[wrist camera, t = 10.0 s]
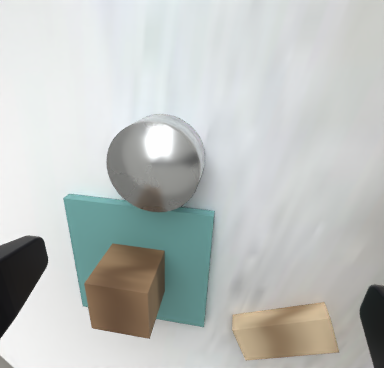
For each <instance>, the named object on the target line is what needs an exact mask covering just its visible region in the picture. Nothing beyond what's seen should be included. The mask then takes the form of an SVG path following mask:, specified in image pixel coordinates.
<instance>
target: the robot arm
mask: <svg viewBox="0 0 384 368" xmlns="http://www.w3.org/2000/svg"><path fill="white" fill-rule="evenodd" d="M47 264H48V256H47V252H46V247H45V243H44V240H43V239H42V238H41V237H37V236H24V237H22V238H19V239H16V240H14V241H11V242H8V243H6V244H3V245H1V246H0V338H1V337H2V336H3V334H4V333H5V332H6V330H7V329H8V328H9V326H10V325H11V323H12V322H13V321H14V319H15V318H16V316H17V315H18V313H19V312H20V310H21V308H22V307H23V305H24V304H25V302H26V300H27V299H28V297H29V295H30V294H31V292H32V290H33V289H34V287H35V285H36V284H37V282H38V280H39V279H40V277H41V275H42V274H43V272H44V270H45V269H46V267H47ZM360 318H361V322H362V325H363V329H364V333H365V336H366V340H367V344H368V347H369V351H370V354H371V358H372V362H373V365H374V368H384V286H381V285H371V286H370V287H369V288H368V290H367V293H366V295H365V297H364V300H363V302H362V304H361V307H360Z"/></svg>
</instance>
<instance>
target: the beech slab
mask: <svg viewBox="0 0 384 368" xmlns="http://www.w3.org/2000/svg"><path fill="white" fill-rule="evenodd" d="M232 331H233V333H234V335H235V338H236V340H237V342H238V344H239V346H240V349H241V351H242V353H243V355H244V358H245V360H257V359H268V358H280V357H291V356H303V355H314V354H326V353H338V352H339V350H338V346H337V342H336V338H335V335H334V331H333V327H332V323H331V320H330V317H329V314H328V311H327V308H326V306H325V303H324V302H322V303H315V304H308V305H300V306H293V307H286V308H278V309H271V310H264V311H257V312H249V313H242V314H235V315H233V321H232Z"/></svg>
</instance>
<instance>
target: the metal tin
mask: <svg viewBox="0 0 384 368" xmlns="http://www.w3.org/2000/svg"><path fill="white" fill-rule="evenodd" d="M204 164H205V151H204V147H203V143H202V141H201V139H200V137H199V135H198V134H197V132H196V131H195V130H194V129H193V128H192V127H191V126H190V125H189V124H188V123H186V122H185V121H183V120H182V119H180V118H177V117H175V116H172V115H167V114H155V115H150V116H147V117H145V118H143V119H141V120H139V121H137V122H135V123H133V124H132V125H130V126H128V127H126V128H125V129H123V130H122V131H120V132H119V133H118V134H117V135H116V137H115V138H114V139H113V141H112V142H111V144H110V147H109V149H108V154H107V170H108V174H109V177H110V180H111V182H112V184H113V186H114V187H115V189H116V190H117V192H118V193H119V194H120V195H121V196H122V197H123V198H124V199H125V200H126V201H128V202H129V203H130V204H132V205H134V206H136V207H138V208H140V209H142V210H146V211H150V212H167V211H171V210H174V209H177V208H179V207H181V206H182V205H184V204H185V203H186V202H187V201H189V199H190V198H191V197H192V196H193V194H194V193H195V191H196V188H197V186H198V183H199V180H200V177H201V174H202V172H203V168H204Z"/></svg>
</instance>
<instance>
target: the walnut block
mask: <svg viewBox="0 0 384 368" xmlns="http://www.w3.org/2000/svg"><path fill="white" fill-rule="evenodd" d="M84 286H85V291H86V297H87V303H88V309H89V314H90V320H91V326H92V328H93V329H99V330H104V331H110V332H115V333H121V334H127V335H132V336H138V337H143V338H149V339H150V336H151V332H152V329H153V326H154V323H155V320H156V317H157V314H158V311H159V308H160V305H161V302H162V299H163V295H164V292H165V251H164V250H157V249H150V248H142V247H135V246H128V245H120V244H113V243H112V245H111V246H110V248H109V249H108V250H107V252H106V253H105V255H104V256H103V257H102V259H101V260H100V262H99V263H98V265H97V266H96V267H95V269H94V270H93V272H92V273H91V274H90V276H89V277H88V279H87V280H86V281H85V283H84Z"/></svg>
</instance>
